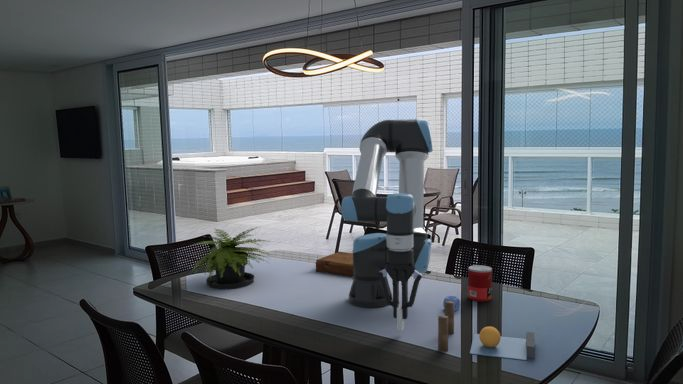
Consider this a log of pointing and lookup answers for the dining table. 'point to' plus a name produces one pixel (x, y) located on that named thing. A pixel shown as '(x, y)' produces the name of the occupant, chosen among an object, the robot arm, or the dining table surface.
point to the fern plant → (229, 261)
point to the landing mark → (501, 348)
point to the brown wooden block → (336, 264)
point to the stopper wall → (530, 345)
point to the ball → (489, 337)
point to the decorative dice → (453, 299)
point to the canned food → (480, 283)
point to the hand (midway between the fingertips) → (400, 329)
